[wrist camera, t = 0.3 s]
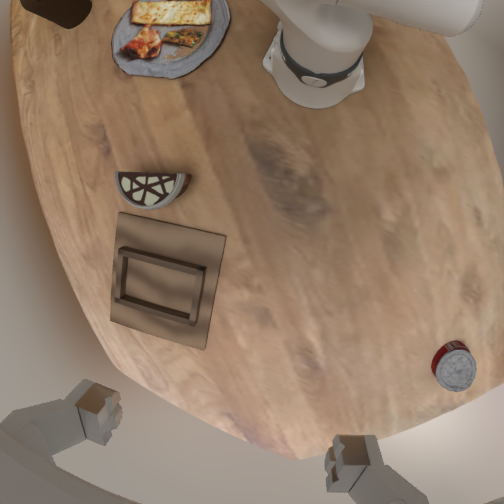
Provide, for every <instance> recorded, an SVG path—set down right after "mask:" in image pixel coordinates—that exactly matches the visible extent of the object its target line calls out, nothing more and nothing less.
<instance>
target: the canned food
mask: <svg viewBox="0 0 504 504" xmlns="http://www.w3.org/2000/svg"><path fill="white" fill-rule="evenodd" d="M431 368H432V371H433V373H434V375H435V376H436V378H437V381H438V382H439V383H440V385H441V386H442V387H443V388H446V389H447V390H449V391H455V392H459V391H464V390H465V389H467V388H468V387H470V385H471V384H472V382H473V380H474V379H475V374H476V363H475V359H474V358H473V356H472V355H471V353H470V351H469V349H468V348H467V347H466V346H465V345H464V344H463V343H462V342H460V341H451V342H449V343H447V344H445V345H444V346H442V347H441V348H440V349H439V350H438V351H437V353H436V354H435V356H434V358H433V360H432V365H431Z"/></svg>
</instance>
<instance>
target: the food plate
mask: <svg viewBox="0 0 504 504" xmlns="http://www.w3.org/2000/svg"><path fill="white" fill-rule="evenodd" d="M132 4H133V5H132V7H131V8H130V9H129V10H127V11H126V12H125V13H124V15H123V17H122V18H121V19H120V21H119V23H118V24H117V26H116V28H115V30H114V33H113V36H112V41H111V46H112V57H113V60H114V62H115V63H117V65H118V66H119V68H121V69H122V71H123V72H125V73H127V74H130V75H131V74H133V75H142V76H154V77H164V78H165V77H167V78H168V79H172V78H177V77H179V76H182V75H184V74H187V73H189V72H191V71H192V70H194V69H195V68H196V67H198V66H199V65H200V63H201V62H202V61H204V60H205V59H206V58H208V57H209V56H210V55H211V54H212V53H213V52H214V50H215V49H216V48H217V46H218V45H219V44H220V42H221V40H222V38H223V36H224V34H225V31H226V29H227V26H228V22H229V20H230V13H229V10H228V9H229V8H228V5H227V3H226V1H225V0H138V1H133V3H132ZM205 25H209V27H208V30H207V33H206V35H205V38H204V40H203V42H202V43H201V44H200V46H199V47H197V49H196V50H194V51H192V53H191V54H190V55H187V56H186V55H185V56H184V57H185V58H182V59H181V58H179V57H178V58H176V59H174V61H175V62H173V59H171V60H172V61H171V62H168V61H170V60H169V59H167V60H166V59H165V58H167V54H172V56H177V55H176V54H177V53H178V52H177V53H173V52H174V51H176V50H177V49H179V48H180V46H186V47H190V48H192V49H193V46H194V45H195V44H196V43H199V41H200V39H201V38H200V37H201V36H202V35H201V34H202V33H201V32H198V31H197V30H187V29H186V30H185V29H182V27H183V28H186V27H196V26H198V27H199V26H203V27H204V26H205ZM179 45H180V46H179ZM182 49H183V48H182ZM180 53H181V51H180ZM189 53H190V52H189ZM164 54H165V55H164ZM178 54H179V53H178ZM183 55H184V54H183ZM163 56H164V57H165V58H163V59H164V61H163V59H162V57H163ZM157 59H159V60H157ZM165 61H167V62H165ZM151 62H153V63H151ZM163 62H164V63H166V64H162V63H163ZM154 67H155V68H154Z"/></svg>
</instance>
